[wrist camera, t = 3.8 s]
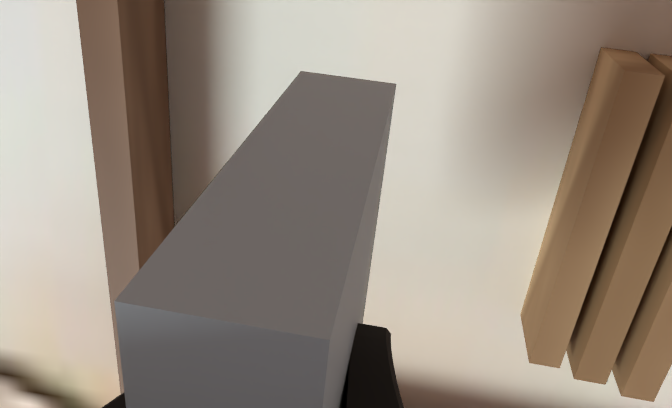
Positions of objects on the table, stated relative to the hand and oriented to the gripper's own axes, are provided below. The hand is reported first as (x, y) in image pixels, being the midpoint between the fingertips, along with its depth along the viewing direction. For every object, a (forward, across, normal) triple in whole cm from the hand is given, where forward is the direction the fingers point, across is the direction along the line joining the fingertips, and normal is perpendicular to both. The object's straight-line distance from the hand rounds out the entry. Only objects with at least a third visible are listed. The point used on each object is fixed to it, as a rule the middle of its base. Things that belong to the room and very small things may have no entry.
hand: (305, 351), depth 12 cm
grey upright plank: (+3, 0, 0) cm, 3 cm away
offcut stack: (+10, -8, 0) cm, 13 cm away
